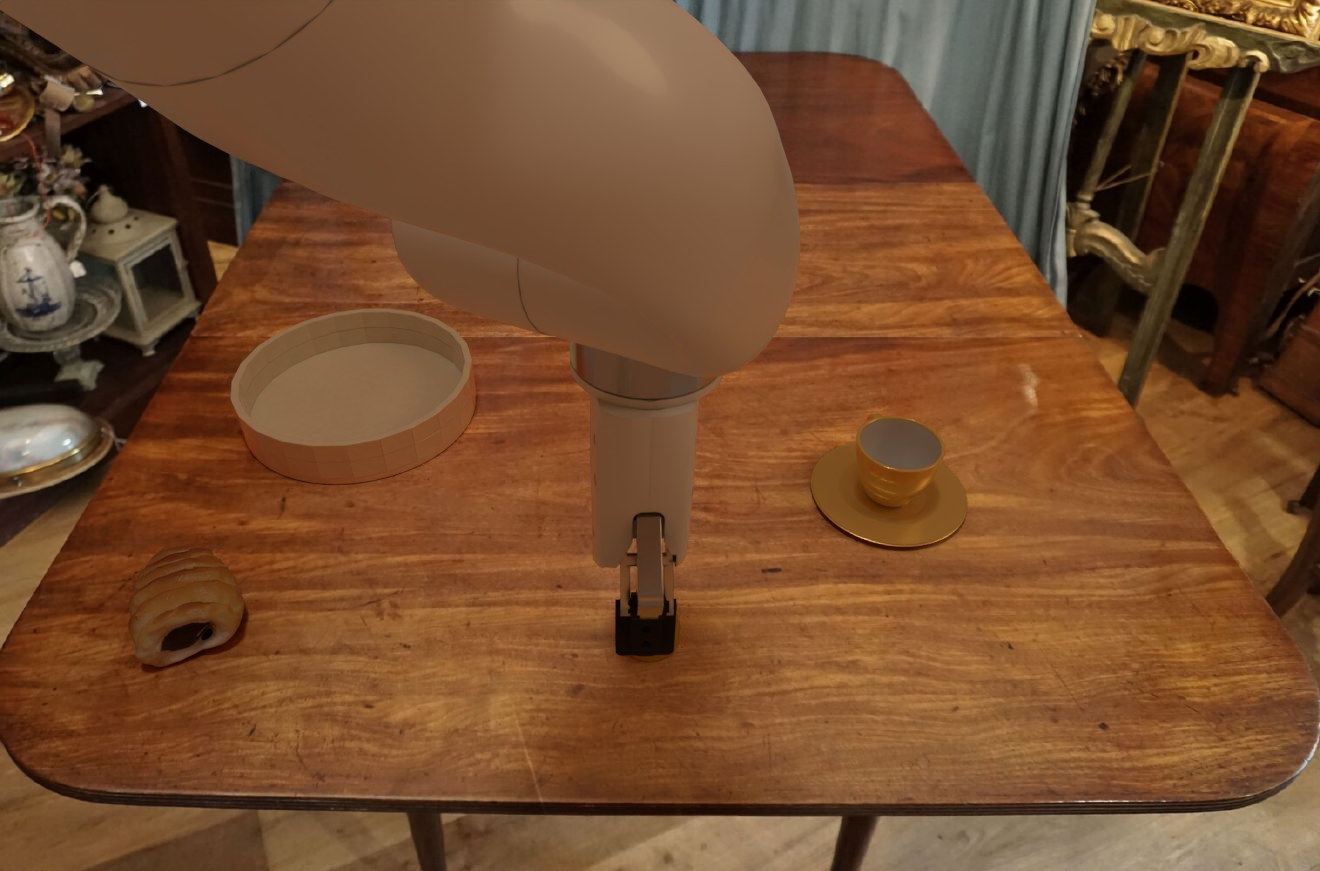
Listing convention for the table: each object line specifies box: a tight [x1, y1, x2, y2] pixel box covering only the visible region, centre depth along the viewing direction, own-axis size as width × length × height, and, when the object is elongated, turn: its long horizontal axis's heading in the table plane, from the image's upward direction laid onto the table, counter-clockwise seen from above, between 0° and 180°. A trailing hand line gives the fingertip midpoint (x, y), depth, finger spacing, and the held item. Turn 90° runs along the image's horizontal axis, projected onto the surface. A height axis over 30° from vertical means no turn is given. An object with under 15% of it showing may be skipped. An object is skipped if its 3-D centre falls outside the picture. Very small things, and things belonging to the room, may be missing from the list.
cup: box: [810, 413, 969, 548], centre depth 71 cm, size 12×12×5 cm
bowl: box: [230, 307, 477, 485], centre depth 79 cm, size 19×19×4 cm
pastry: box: [127, 542, 246, 668], centre depth 62 cm, size 9×7×4 cm
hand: (641, 585), depth 55 cm, fingers open, 9 cm apart
